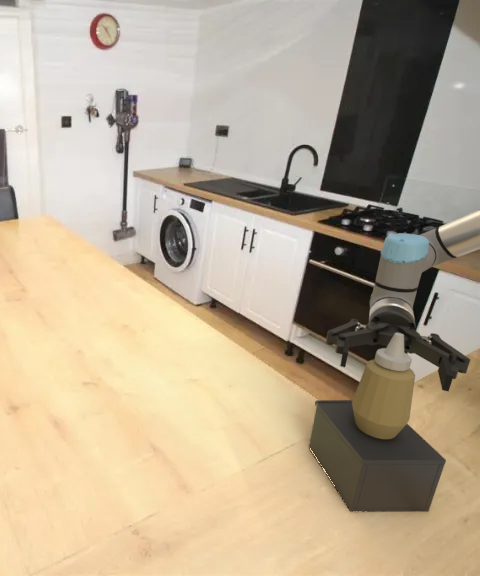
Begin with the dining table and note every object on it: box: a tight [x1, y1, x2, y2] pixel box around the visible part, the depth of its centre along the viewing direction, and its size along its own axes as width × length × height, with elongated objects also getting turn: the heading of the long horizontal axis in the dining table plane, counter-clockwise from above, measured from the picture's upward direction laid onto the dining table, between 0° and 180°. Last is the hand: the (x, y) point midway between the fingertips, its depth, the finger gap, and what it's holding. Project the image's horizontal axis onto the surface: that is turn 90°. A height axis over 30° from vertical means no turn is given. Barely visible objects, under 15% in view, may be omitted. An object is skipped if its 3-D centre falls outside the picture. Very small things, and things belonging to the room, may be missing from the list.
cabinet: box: [308, 403, 447, 513], centre depth 72 cm, size 15×13×11 cm
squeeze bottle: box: [352, 333, 416, 439], centre depth 67 cm, size 8×8×18 cm
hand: (393, 371), depth 65 cm, fingers open, 13 cm apart
